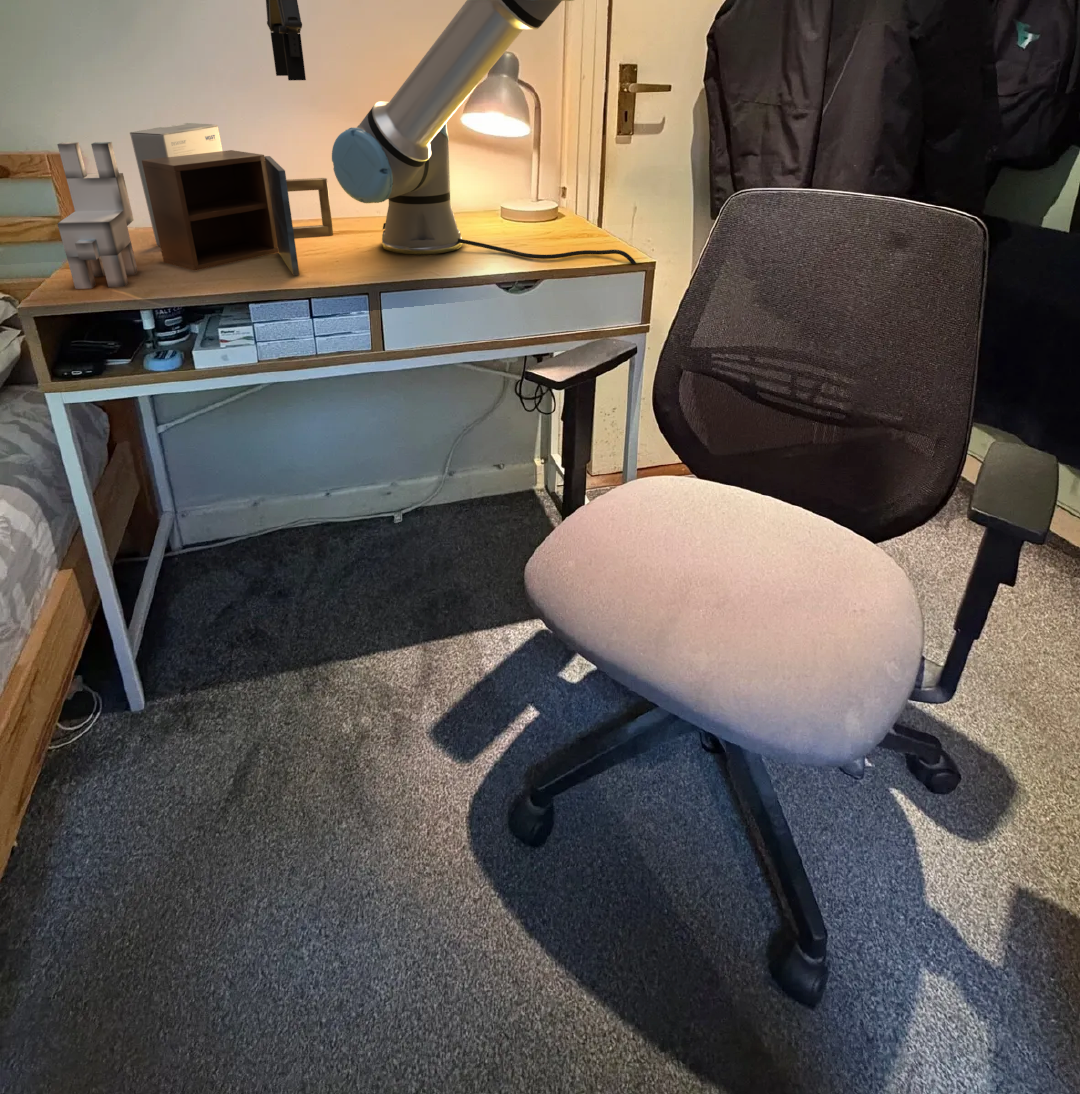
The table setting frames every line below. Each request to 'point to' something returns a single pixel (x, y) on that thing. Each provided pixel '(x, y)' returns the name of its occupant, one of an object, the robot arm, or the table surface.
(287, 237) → the cupboard door
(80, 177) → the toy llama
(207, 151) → the hard drive box
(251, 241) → the cupboard
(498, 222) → the table surface
